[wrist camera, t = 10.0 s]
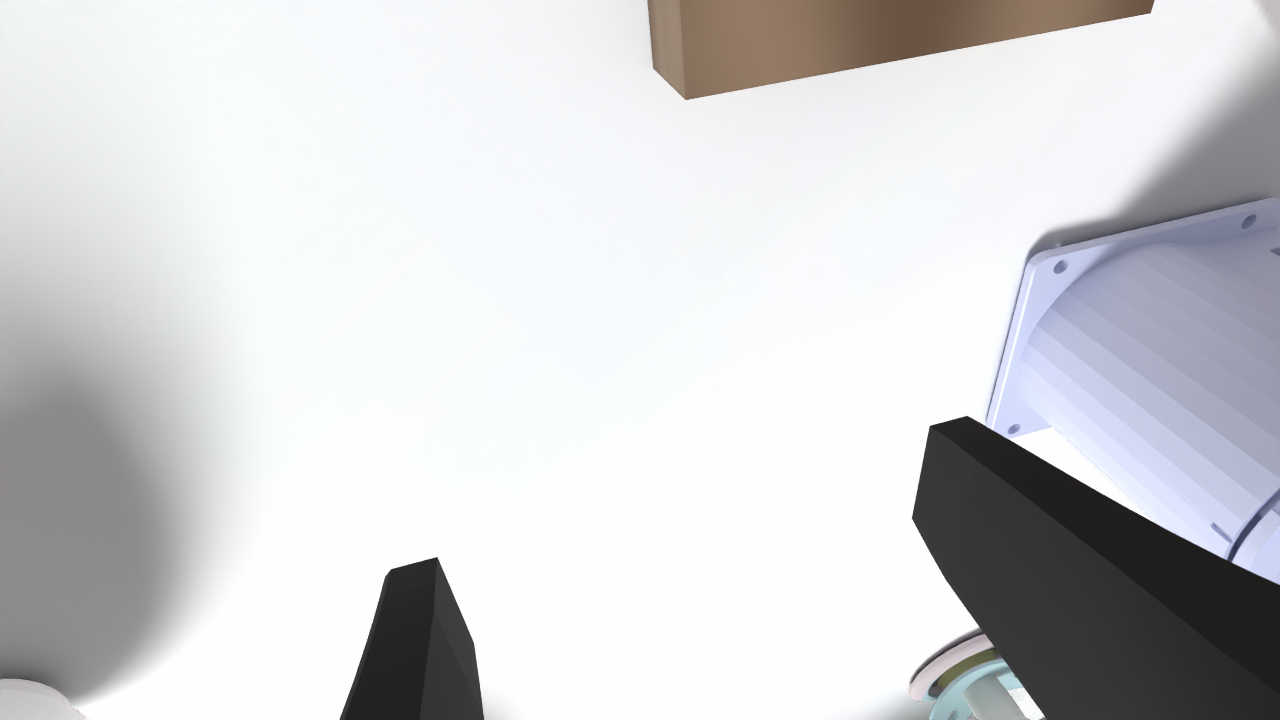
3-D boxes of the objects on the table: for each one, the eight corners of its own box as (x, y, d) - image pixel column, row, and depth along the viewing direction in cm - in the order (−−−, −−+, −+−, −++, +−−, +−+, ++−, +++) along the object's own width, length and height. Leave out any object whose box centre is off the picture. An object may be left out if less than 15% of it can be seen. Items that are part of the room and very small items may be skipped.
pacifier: (883, 677, 38) (923, 713, 42) (952, 801, 33) (991, 830, 37) (1005, 603, 37) (1036, 647, 40) (1096, 720, 32) (1122, 758, 35)
